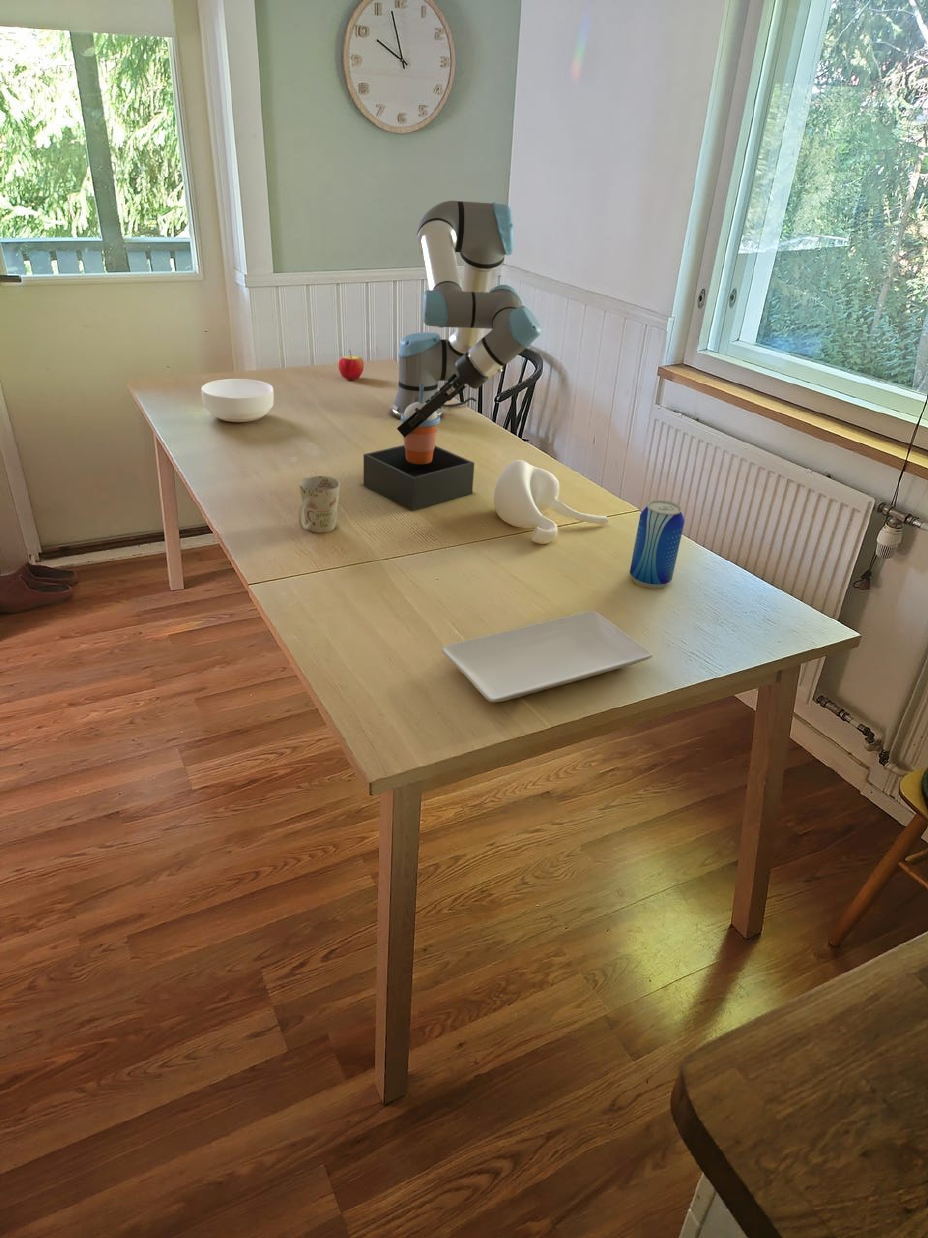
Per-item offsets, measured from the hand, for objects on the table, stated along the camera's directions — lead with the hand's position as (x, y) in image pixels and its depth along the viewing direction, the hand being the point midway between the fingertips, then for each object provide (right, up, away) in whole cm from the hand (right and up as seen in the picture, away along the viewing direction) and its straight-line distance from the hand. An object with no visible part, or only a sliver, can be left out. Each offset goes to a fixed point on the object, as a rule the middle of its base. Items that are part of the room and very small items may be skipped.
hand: (407, 426), depth 194 cm
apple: (-25, +36, +88) cm, 98 cm away
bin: (+2, -13, +7) cm, 15 cm away
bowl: (-51, +13, +45) cm, 69 cm away
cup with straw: (+3, -7, +4) cm, 9 cm away
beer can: (+50, -37, -27) cm, 68 cm away
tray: (+27, -53, -56) cm, 82 cm away
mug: (-18, -26, -16) cm, 36 cm away
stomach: (+30, -23, -4) cm, 38 cm away
